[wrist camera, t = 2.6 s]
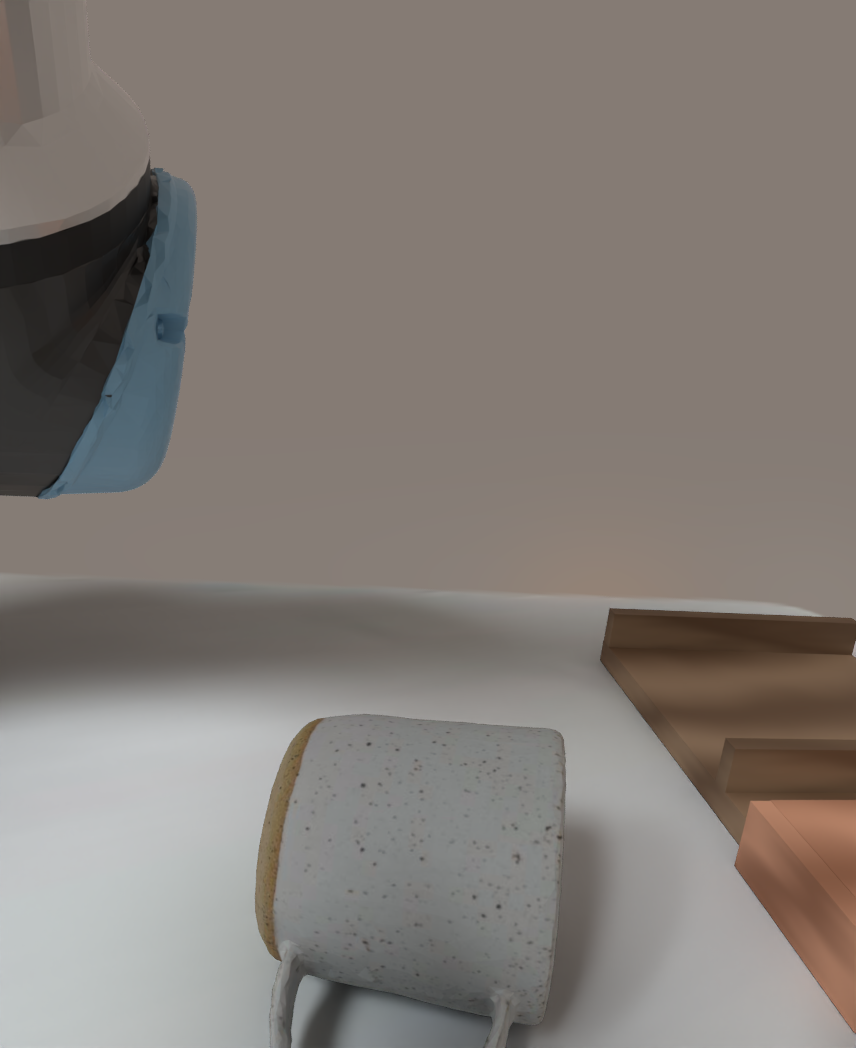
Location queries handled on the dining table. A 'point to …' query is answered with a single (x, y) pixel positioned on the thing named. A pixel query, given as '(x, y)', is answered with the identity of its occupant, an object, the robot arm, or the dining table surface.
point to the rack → (763, 756)
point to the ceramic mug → (415, 865)
